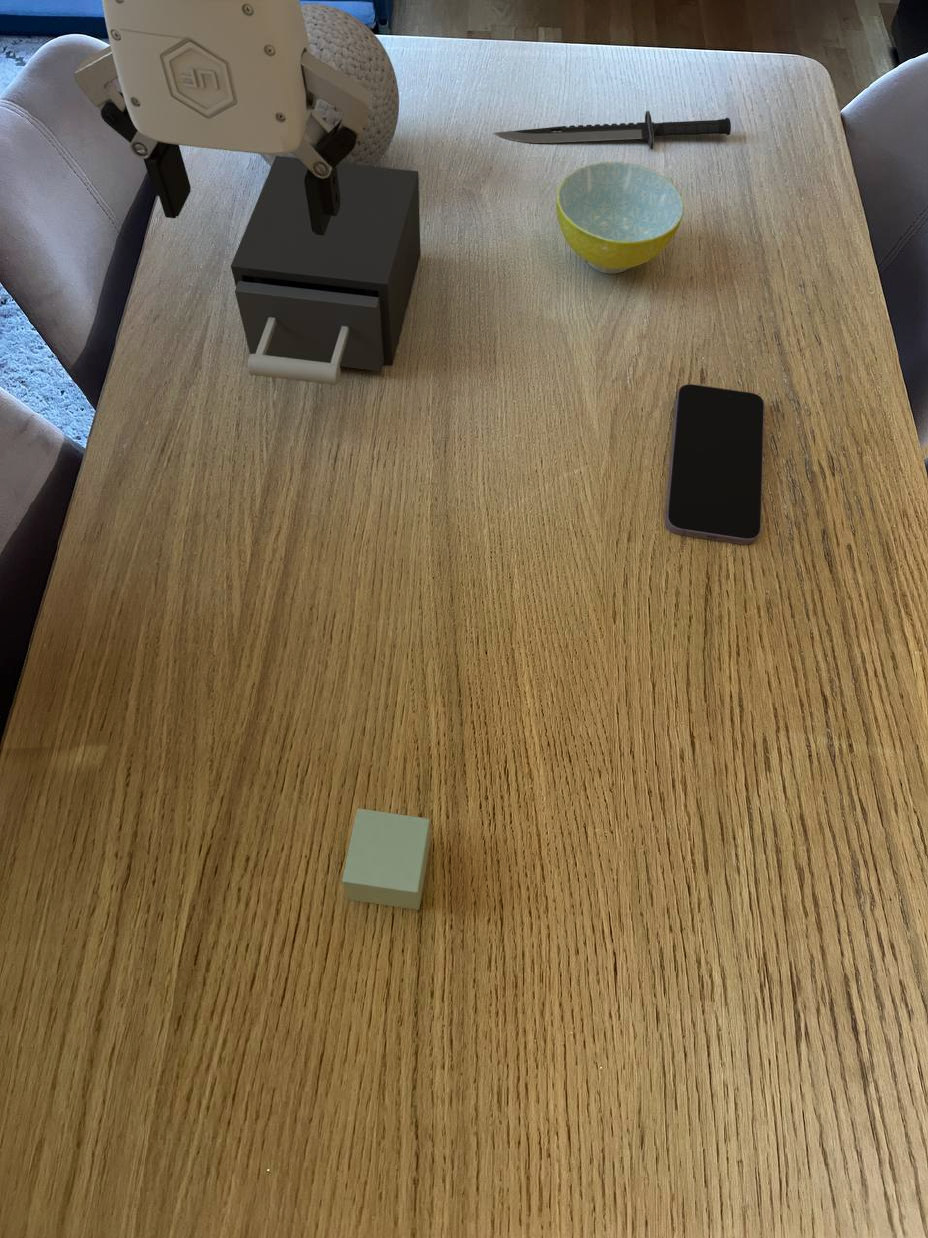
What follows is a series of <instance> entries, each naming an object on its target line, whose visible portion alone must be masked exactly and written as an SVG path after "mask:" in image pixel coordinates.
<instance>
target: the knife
mask: <svg viewBox="0 0 928 1238" xmlns="http://www.w3.org/2000/svg"><path fill="white" fill-rule="evenodd" d="M731 131H732V123H731V119H730V118H729V117H725V118H720V119H709V120H707V119H706V120H688V121H686V120H685V121H684V120H683V121H663V122H654V121H652V114H651V112H650V110H646V111H645V114H644V121H643V122H637V123H634V122H628V123H625V122H621V123H619V124H618V123H611V124H608V123H603V124H602V125H601V124H599V123H596V124H594V125H592V124H586V125H583V124H578V125H576V126H575V125H574V124H573V125H569V126H567V125H561V126H551V127H539V128H530V129H519V130H508V131H497V132H494V134H495V135H497V136H499V137H500V138H501V137H502V138H504V139H506V140H511V141H516V142H522V143H533V144H534V143H537V144H539V143H540V144H542V143H543V144H545V143H549V144H551V143H552V144H553V143H571V142H572V143H573V142H575V143H576V142H595V141H618V140H638V139H639V140H640V139H641V140H643V141H644V140H647V144H648V146H649V150H654V145H655V139H654V137H678V136H699V135H726V136H730V135H731Z"/></svg>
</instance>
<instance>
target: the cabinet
mask: <svg viewBox="0 0 928 1238" xmlns="http://www.w3.org/2000/svg"><path fill="white" fill-rule="evenodd" d="M336 167H337V175H338V183H339V191H340V209H339V212H338V214H337V216H331V218H330V221H329V224H328V226H327V229H326V232H325V235H324V236H322V235H315V232H312V228H311V221H310V215H309V209H308V203H307V197H306V191H305V184H304V179H305V176H306V173H307V171H308V168H307V167H306V166H305V165H304V163H303V162H302V161H301V160H300V159H299V158H292V157H283V156H276V157H275V159H274V162H273V164H272V167H271V166H270V169H269V171H268V174H267V176H266V179H265V181H264V183H263V186H262V189H261V191H260V192H259V196H258V197H257V200H256V203H255V206H254V208H253V211H252V213H251V216H250V218H249V220H248V222H247V224H246V227H245V230H244V232H243V235H242V237H241V239H240V242H239V244H238V247H237V249H236V252H235V254H234V256H233V259H232V261H231V264H230V269H231V274H232V277H233V281H234V286H235V287H236V286H237V284H238V281H243V282H252V283H254V280H253V277H262V278H270V279H279V280H287V281H296V282H305V283H313V284H322V285H330V286H339V287H348V288H356V289H365V290H373V291H378V292H379V300H380V314H381V328H382V342H383V356H384V363H383V366H391V367H392V366H394V362H395V359H396V358H395V357H396V354H397V351H398V346H399V342H400V338H401V334H402V330H403V326H404V323H405V319H406V315H407V310H408V306H409V302H410V299H411V295H412V290H413V287H414V283H415V278H416V275H417V272H418V267H419V263H420V260H421V255H422V254H421V222H420V221H421V220H420V219H421V218H420V217H421V216H420V215H421V214H420V173H419V171H418V170H411V169H400V168H391V167H384V166H383V167H382V166H375V167H374V166H365V165H356V164H347V163H339V164H338V165H336Z"/></svg>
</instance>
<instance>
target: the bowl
mask: <svg viewBox="0 0 928 1238" xmlns="http://www.w3.org/2000/svg"><path fill="white" fill-rule="evenodd" d="M684 210H685V205H684V200H683V197H682V195H681V193H680V191H679V189H678V188H677V187H676V186H675V185H674V184H673V183H672V182H671V181H670V180H669V179H668V178H667V177H665V176H664V175H662V174H661V173H659V172H657V171H654V170H653V169H651V168H648V167H645V166H643V165H640V164H635V163H631V162H625V161H601V162H595V163H591V164H587V165H583V166H581V167H578V168H576V169H575V170H573V171H571V172H570V173H569V174H567V175H566V176H565V177H564V178H563V180H562V181H561V182H560V184H559V186H558V187H557V192H556V213H557V214H556V215H557V219H558V224H559V227H560V230H561V233H562V235H563V237H564V239H565V241H566V243H567V244H568V246H569V247H570V248H571V249H572V250H573V251H574V252H575V254H577V255H578V256H579V257H580V258H582V259H583V260H585V262H586V263H587V264H588V265H589V266H590V268H592V269H594V270H596V271H597V272H600V273H603V274H611V275H612V274H613V275H614V274H621V273H623V272H625V271H627V270H629V269H630V268H635V267H639V266H641V265H643V264H645V263H647V262H649V261H651V260H652V259H654V258H655V257H656V256H658V255H659V254H660V253H661V252H662V251H663V250H664V249H666V247H667V246H668V245H669V243H670V242H671V241H672V239H673V238H674V236H675V235H676V233H677V231H678V229H679V227H680V224H681V222H682V219H683V216H684V213H685V212H684Z"/></svg>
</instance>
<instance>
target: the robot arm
mask: <svg viewBox="0 0 928 1238" xmlns="http://www.w3.org/2000/svg"><path fill="white" fill-rule="evenodd" d="M101 4H102V11H103V16H104V21H105V27H106V31H107V36H108V40H109V41H108V42H109V44H110V45H109V46H106V47H105V48H103V49H101V50H100V51H98V52H96V53H95V54H93V55H90V56H89V57H87V58H85V59H84V60H83V61H82V62H81V63H80V65H79V66H78V67H77V69H76V71H75V72H74V73H73V79H74V81H75V83H76V84H77V86H78V87H79V89H81V91H82V92H83V94H84V95H85V96H86V97H87V98H88V99H89V101H90V102H91V103H92V104H93V106H94V107H95V108H98V110H99V111H100V116H101V119H102V120H103V121H104V123H105V124H106V125H108V126H109V127H110V128H111V129H113V130H114V132H116V133H117V134H118V135H120V136H121V137H122V138H123V139H125V140H126V142H128V143H129V149H130V150H131V151H130V152H132V154H133V155H134V156H136V157H137V158H139V159H141V160H143V162H144V166H145V168H146V172H147V175H148V178H149V181H150V184H151V187H152V190H153V193H154V195H155V196H156V197H159V201H160V204H161V207H162V210H163V214H164V216H165V218H168V219H176V218H177V217H179V215H180V214H181V212H182V210H183V208H184V207H185V204H186V202H187V200H188V198H189V196H190V194H191V192H192V191H191V190H192V188H191V187H192V186H191V183H190V179H189V176H188V171H187V169H186V166H185V162H184V158H183V154H182V151H181V147H180V146H183V147H194V148H200V149H201V148H202V149H211V150H220V151H228V152H229V151H230V152H238V153H248V154H258V155H260V154H269V155H282V154H287V153H290V152H293V153H294V154H295V155H296V156H297V157H298V158H299V159H300V160H301V161H302V162H303V163H304V165H305V166H306V167H307V168H308V171H307V173H306V176H305V179H304V184H305V191H306V197H307V203H308V209H309V215H310V221H311V228H312V232H315V235H322V236H324V235H325V232H326V229H327V226H328V224H329V221H330V218H331V216H337V214H338V212H339V209H340V191H339V183H338V175H337V167H336V165H338V164H339V163H340V162H341V161H342V160H343V159H344V158H345V157H346V156H347V155H348V154H349V153H350V152H351V151H352V150H353V149H354V147H355V145H356V142H357V140H358V138H359V136H360V134H361V132H362V129H363V127H364V125H365V123H366V121H367V118H368V116H369V114H370V111H371V109H372V106H373V103H374V95H373V93H372V92H371V91H370V90H369V89H367V88H365V87H364V86H362V85H360V84H359V83H357V82H355V81H354V80H352V79H350V78H349V77H347V76H346V75H344V74H342V73H341V72H339V71H337V70H336V69H334V68H332V67H331V66H329V65H327V64H326V63H324V62H322V61H321V60H319V59H317V58H316V57H314V56H312V55H311V51H310V46H309V41H308V36H307V32H306V27H305V22H304V18H303V14H302V9H301V1H300V0H101ZM117 79H118V81H119V86H120V89H121V91H118V87H117V86H116V85H115V83H114V81H115V80H117ZM317 97H319V98H321V99H323V100H324V101H326V102H328V103H329V104H331V105H333V106H334V107H336V108H338V109H339V110H340V111H341V113H342V116H343V119H342V120H341V121H340V122H339V123H338V124H337V125H336V126H335V127H334V128H333V129H331V128H330V127H329V126H328V125H327V124H326V122H325V121H324V120H323V119H322V118H321V117H320V116H319V115H318V114H317V112H316V111H315V110H314V109H315V107H316V102H317Z"/></svg>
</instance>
